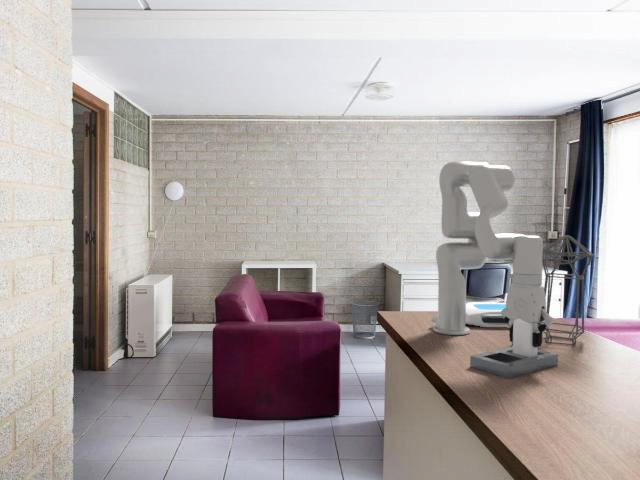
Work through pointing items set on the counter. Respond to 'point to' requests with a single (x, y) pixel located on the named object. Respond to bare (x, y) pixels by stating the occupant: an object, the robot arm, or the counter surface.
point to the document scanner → (484, 313)
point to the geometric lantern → (586, 254)
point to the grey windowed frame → (512, 362)
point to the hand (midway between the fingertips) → (525, 343)
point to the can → (523, 338)
